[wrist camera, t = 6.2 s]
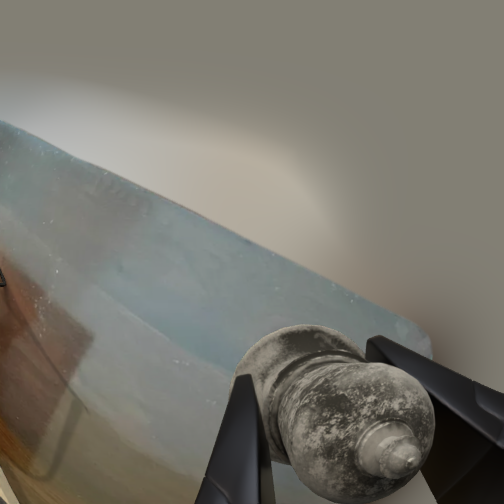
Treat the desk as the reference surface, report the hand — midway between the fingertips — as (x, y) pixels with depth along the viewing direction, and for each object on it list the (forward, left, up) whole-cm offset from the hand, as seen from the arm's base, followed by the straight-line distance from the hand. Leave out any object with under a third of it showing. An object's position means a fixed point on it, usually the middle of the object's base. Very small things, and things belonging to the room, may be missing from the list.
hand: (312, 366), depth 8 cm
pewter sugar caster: (-1, 0, -7) cm, 7 cm away
